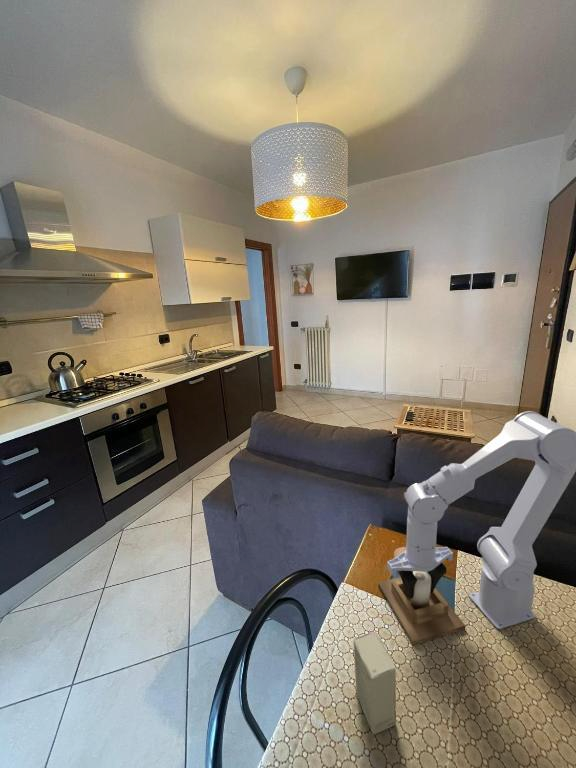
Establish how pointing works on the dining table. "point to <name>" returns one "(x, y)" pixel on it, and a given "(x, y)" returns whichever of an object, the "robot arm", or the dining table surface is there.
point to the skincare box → (375, 682)
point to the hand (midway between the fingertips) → (418, 591)
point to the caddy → (421, 613)
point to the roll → (421, 589)
